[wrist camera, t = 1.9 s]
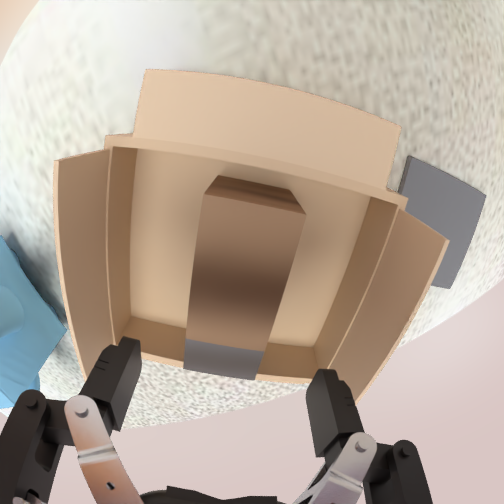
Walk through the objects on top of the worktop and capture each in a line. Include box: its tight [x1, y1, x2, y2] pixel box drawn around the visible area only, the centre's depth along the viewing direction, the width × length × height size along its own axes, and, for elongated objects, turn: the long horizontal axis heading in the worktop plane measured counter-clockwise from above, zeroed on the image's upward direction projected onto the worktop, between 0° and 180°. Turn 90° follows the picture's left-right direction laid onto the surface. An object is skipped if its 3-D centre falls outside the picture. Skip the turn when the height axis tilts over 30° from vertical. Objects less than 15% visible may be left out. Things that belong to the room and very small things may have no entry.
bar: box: [183, 175, 307, 380], centre depth 18 cm, size 12×5×6 cm, turn 168°
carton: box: [53, 69, 450, 406], centre depth 16 cm, size 20×18×10 cm
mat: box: [398, 156, 486, 289], centre depth 20 cm, size 10×10×1 cm
